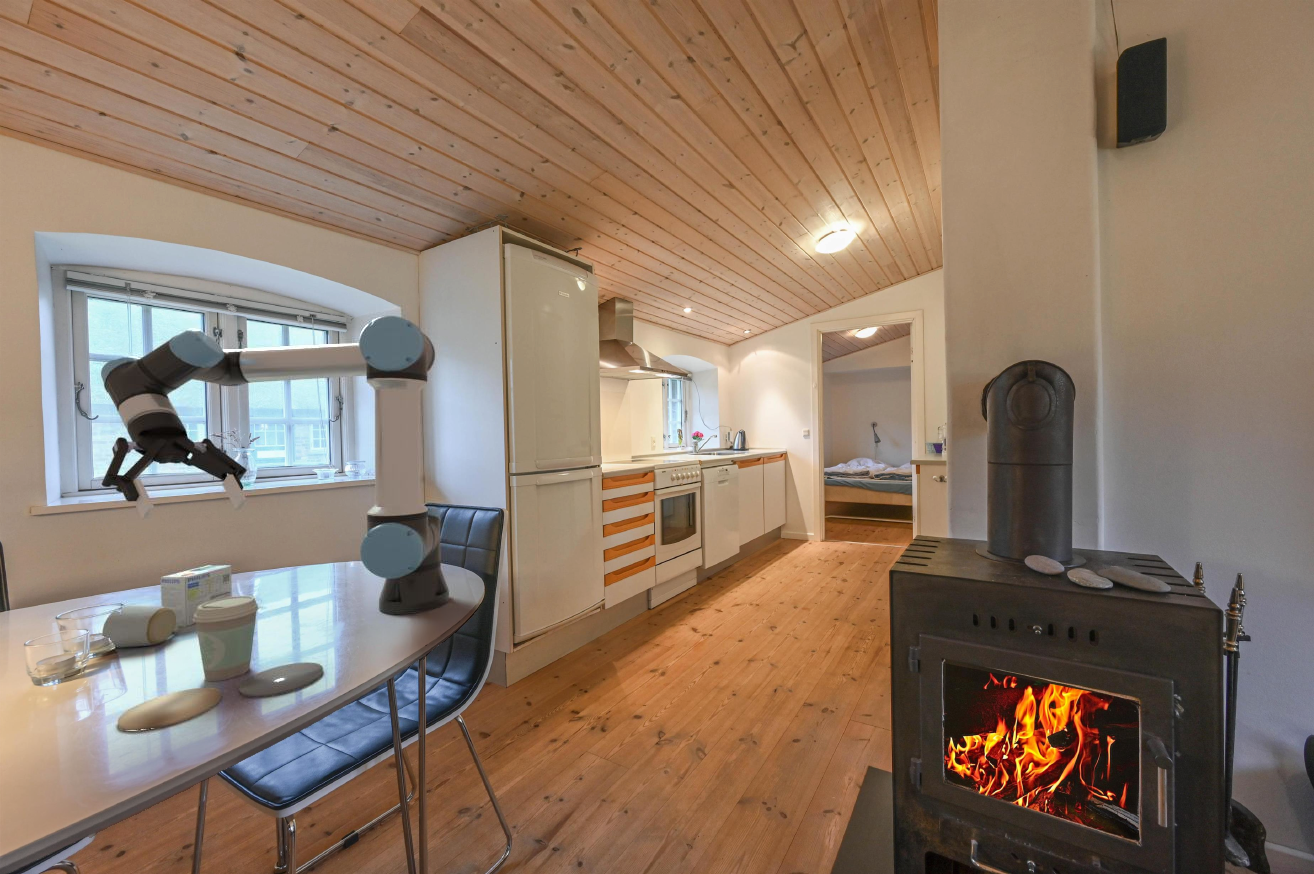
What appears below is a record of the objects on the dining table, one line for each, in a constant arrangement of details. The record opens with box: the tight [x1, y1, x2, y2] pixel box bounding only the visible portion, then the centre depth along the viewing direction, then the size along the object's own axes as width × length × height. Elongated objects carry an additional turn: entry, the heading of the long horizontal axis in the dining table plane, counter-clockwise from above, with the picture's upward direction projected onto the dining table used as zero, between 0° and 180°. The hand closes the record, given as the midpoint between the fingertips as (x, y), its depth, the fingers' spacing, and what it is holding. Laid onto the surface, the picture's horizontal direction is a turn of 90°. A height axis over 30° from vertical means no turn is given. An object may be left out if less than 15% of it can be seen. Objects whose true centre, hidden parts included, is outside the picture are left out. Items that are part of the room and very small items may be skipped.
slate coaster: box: [238, 661, 324, 699], centre depth 84 cm, size 11×11×1 cm
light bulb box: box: [160, 564, 233, 628], centre depth 116 cm, size 11×7×11 cm, turn 172°
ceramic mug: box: [101, 605, 179, 648], centre depth 103 cm, size 11×8×8 cm
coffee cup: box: [193, 595, 260, 682], centre depth 87 cm, size 8×8×12 cm
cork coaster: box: [117, 687, 222, 731], centre depth 75 cm, size 11×11×1 cm
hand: (198, 508), depth 92 cm, fingers open, 13 cm apart
